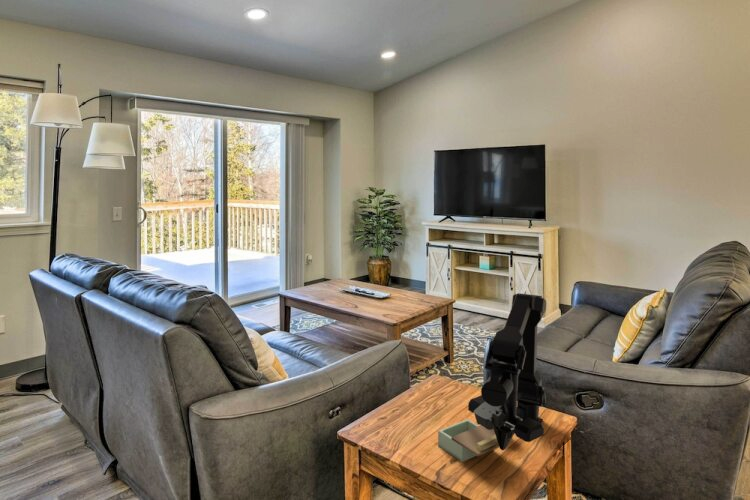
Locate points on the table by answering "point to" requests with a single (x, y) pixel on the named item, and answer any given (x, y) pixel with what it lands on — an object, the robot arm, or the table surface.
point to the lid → (477, 440)
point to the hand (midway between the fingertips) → (502, 449)
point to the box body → (452, 446)
